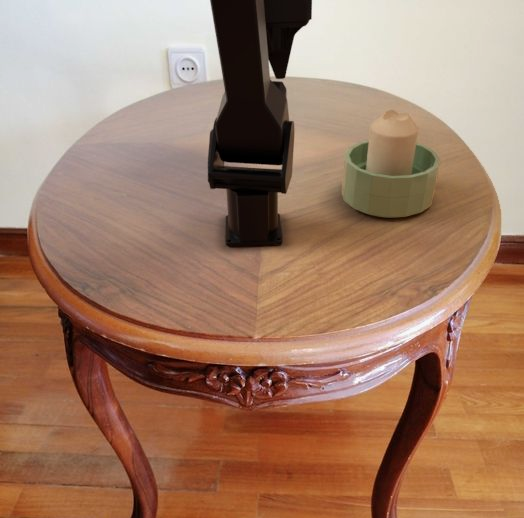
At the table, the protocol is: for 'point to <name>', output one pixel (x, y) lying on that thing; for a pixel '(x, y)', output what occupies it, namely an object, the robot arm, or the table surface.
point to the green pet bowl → (389, 184)
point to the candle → (392, 144)
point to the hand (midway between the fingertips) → (278, 65)
